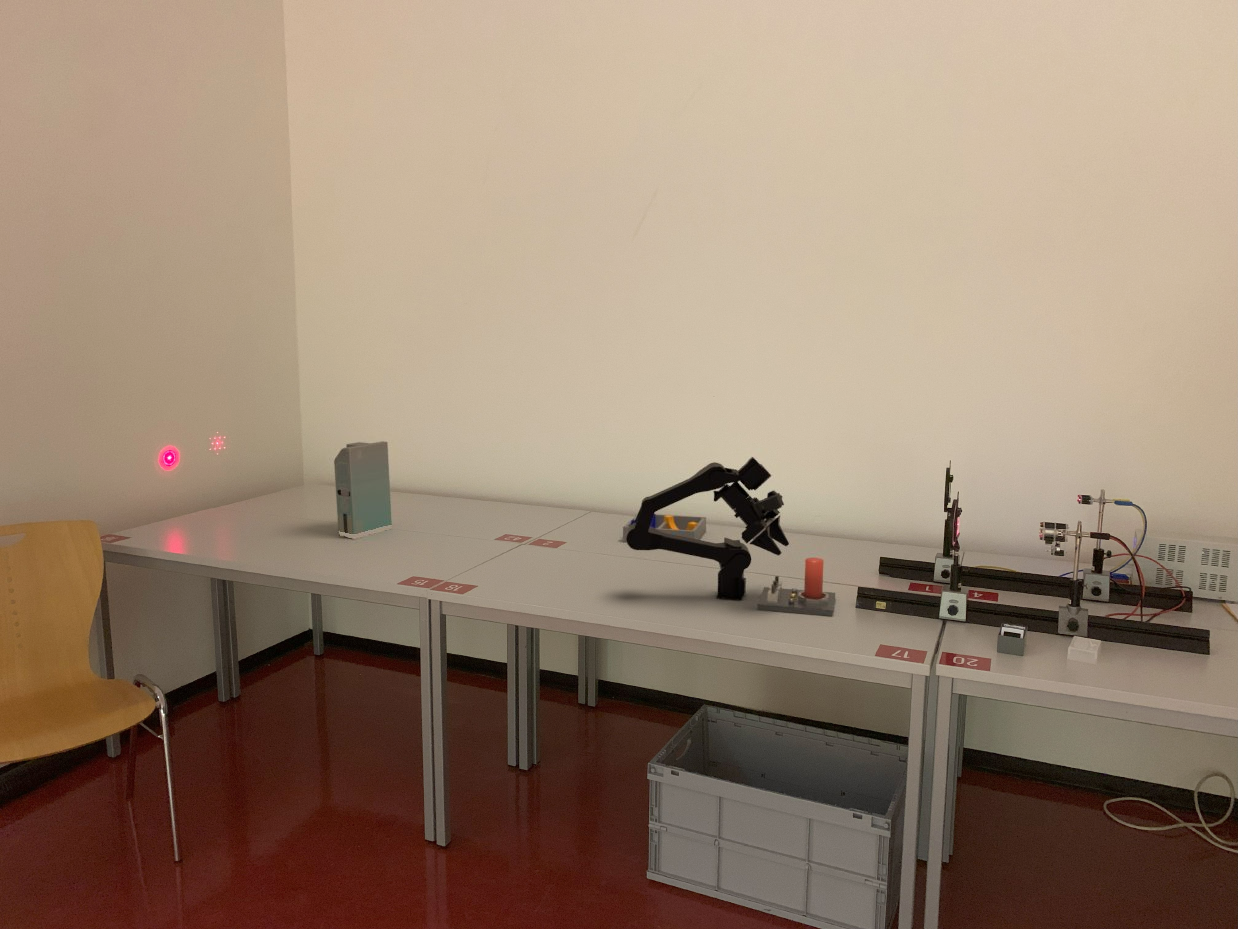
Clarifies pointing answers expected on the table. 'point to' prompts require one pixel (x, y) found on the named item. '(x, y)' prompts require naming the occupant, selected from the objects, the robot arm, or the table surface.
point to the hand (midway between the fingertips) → (784, 549)
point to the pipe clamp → (671, 525)
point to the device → (362, 487)
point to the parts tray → (680, 523)
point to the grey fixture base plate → (794, 601)
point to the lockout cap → (813, 578)
